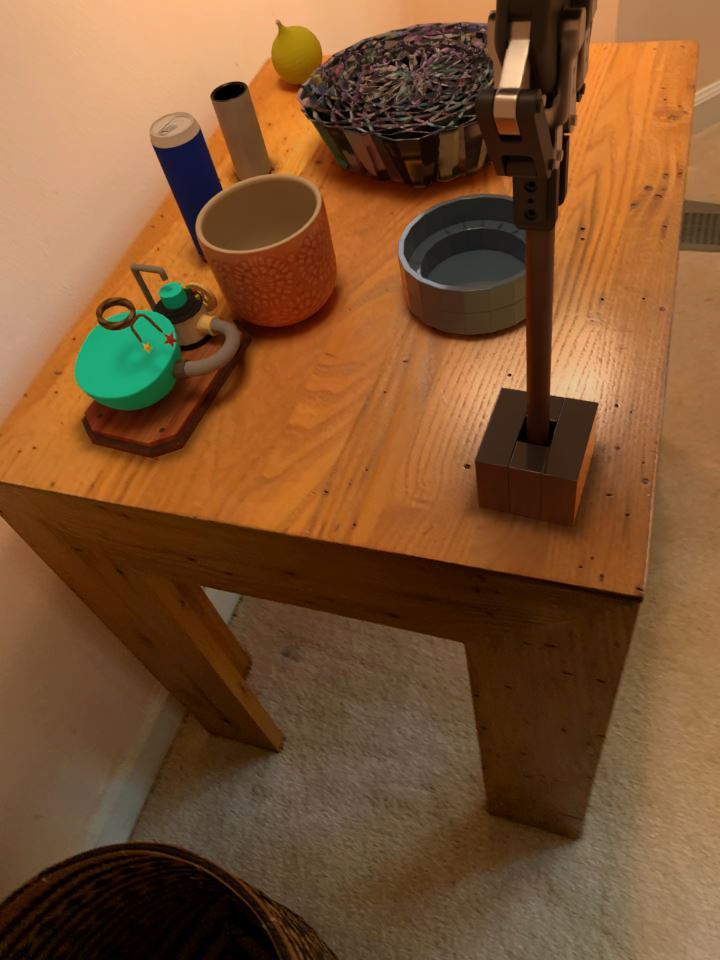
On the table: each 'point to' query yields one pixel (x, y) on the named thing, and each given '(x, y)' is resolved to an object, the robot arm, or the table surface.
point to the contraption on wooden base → (156, 366)
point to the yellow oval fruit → (295, 53)
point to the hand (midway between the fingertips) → (540, 212)
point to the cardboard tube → (241, 129)
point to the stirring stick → (539, 332)
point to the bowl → (465, 265)
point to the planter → (270, 248)
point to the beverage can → (185, 165)
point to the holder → (536, 458)
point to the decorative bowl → (404, 103)
